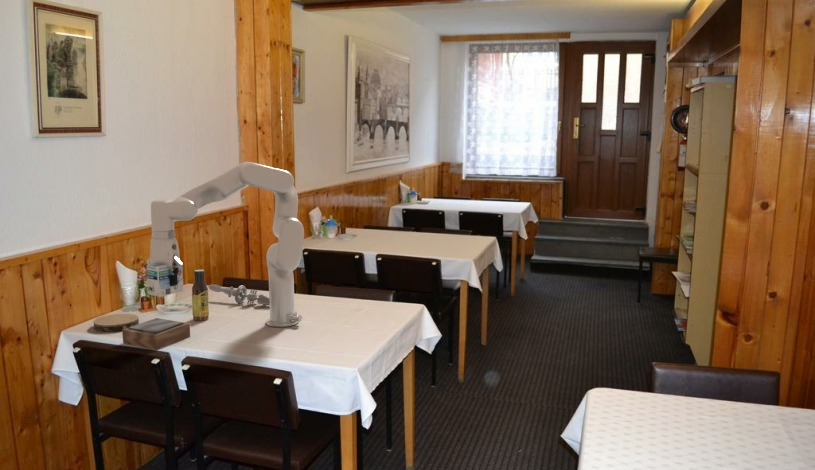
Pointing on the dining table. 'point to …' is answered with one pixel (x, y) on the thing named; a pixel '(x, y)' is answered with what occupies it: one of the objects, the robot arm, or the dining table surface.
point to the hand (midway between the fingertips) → (165, 283)
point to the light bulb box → (162, 280)
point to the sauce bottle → (200, 297)
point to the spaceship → (241, 294)
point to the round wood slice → (115, 322)
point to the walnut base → (156, 333)
